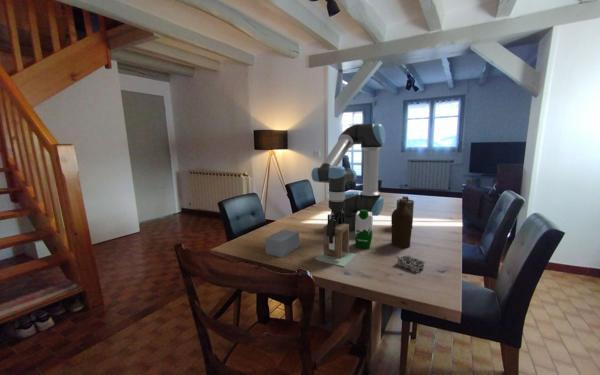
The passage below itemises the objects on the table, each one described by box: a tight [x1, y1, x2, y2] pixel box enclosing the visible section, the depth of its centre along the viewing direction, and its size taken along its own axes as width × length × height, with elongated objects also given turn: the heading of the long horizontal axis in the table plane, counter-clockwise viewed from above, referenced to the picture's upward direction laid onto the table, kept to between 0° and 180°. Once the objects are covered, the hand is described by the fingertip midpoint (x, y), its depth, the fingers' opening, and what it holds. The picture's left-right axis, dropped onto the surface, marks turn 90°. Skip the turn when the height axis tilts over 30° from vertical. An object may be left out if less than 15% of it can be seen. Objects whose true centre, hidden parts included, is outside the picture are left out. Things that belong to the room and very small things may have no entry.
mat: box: [314, 251, 358, 268], centre depth 130 cm, size 15×15×1 cm
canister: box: [396, 195, 415, 229], centre depth 171 cm, size 11×10×20 cm
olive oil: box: [390, 198, 414, 249], centre depth 142 cm, size 11×11×25 cm
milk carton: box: [354, 209, 374, 250], centre depth 142 cm, size 9×9×20 cm
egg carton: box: [396, 254, 426, 273], centre depth 119 cm, size 11×8×4 cm
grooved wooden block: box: [323, 223, 350, 259], centre depth 128 cm, size 16×9×16 cm
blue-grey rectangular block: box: [264, 228, 300, 258], centre depth 139 cm, size 10×16×8 cm, turn 147°
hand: (336, 245), depth 129 cm, fingers closed on grooved wooden block, 9 cm apart
